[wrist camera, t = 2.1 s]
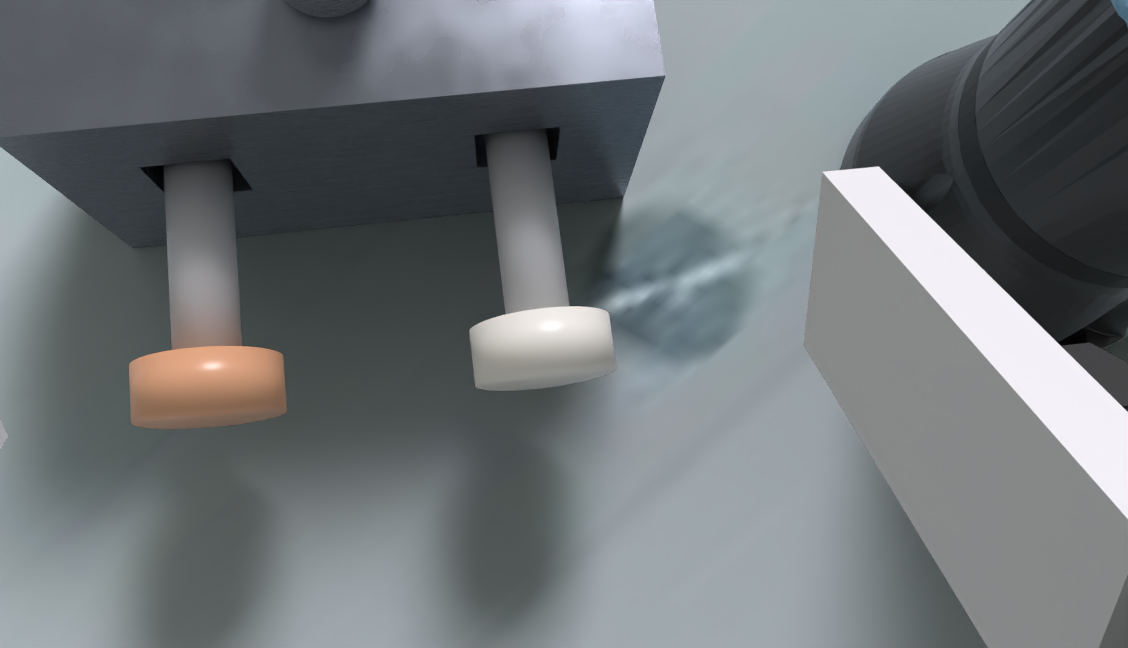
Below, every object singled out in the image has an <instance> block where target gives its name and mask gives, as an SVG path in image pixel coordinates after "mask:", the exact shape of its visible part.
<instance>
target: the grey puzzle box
mask: <svg viewBox="0 0 1128 648" xmlns="http://www.w3.org/2000/svg"><path fill="white" fill-rule="evenodd" d="M665 76H666V75H665V69H664V63H663V57H662V51H661V45H660V38H659V32H658V26H657V20H656V14H655V8H654V2H653V0H368V1H367V2H366V3H365V4H363V5H362V6H361V7H359V8H358V9H356V10H355V11H353V12H350V13H348V14H345V15H342V16H337V17H329V18H324V17H315V16H311V15H307V14H305V13H302V12H300V11H298V10H296V9H295V8H293V7H292V6H291V5H289V4H288V3H287V2H286V1H285V0H0V147H1V148H3V149H4V150H5V151H7V152H8V153H9V154H11V155H12V156H13V157H15V158H16V159H17V160H18V161H20V162H21V163H22V164H24V165H25V166H26V167H28V168H29V169H30V170H32V171H33V172H34V173H35V174H37V175H38V176H39V177H41V178H42V179H43V180H45V181H46V182H47V183H49V184H50V185H51V186H52V187H54V188H55V189H56V190H58V191H59V192H60V193H62V194H63V195H64V196H66V197H67V198H68V199H69V200H71V201H72V202H73V203H75V204H76V205H77V206H79V207H80V208H81V209H83V210H84V211H85V212H86V213H88V214H89V215H90V216H92V217H93V218H94V219H96V220H97V221H98V222H100V223H101V224H102V225H103V226H105V227H106V228H107V229H109V230H110V231H111V232H113V233H114V234H115V235H117V236H118V237H119V238H120V239H122V240H123V241H124V242H126V243H127V244H128V245H130V246H131V247H132V248H138V247H147V246H157V245H167V235H166V212H165V189H164V167H163V165H170V164H180V163H191V162H201V161H211V160H222V159H231V162H232V179H233V195H234V212H235V229H236V237H244V236H254V235H264V234H273V233H283V232H293V231H302V230H312V229H322V228H331V227H341V226H351V225H360V224H370V223H380V222H390V221H399V220H409V219H419V218H428V217H438V216H448V215H457V214H467V213H477V212H486V211H493V205H492V196H491V188H490V180H489V171H488V163H487V154H486V146H485V138H484V134H491V133H502V132H512V131H523V130H533V129H543V128H546V132H547V140H548V147H549V155H550V162H551V170H552V177H553V185H554V192H555V200H556V204H564V203H574V202H583V201H593V200H603V199H612V198H622V197H624V195H625V192H626V189H627V186H628V183H629V180H630V177H631V174H632V171H633V168H634V166H635V163H636V160H637V157H638V154H639V151H640V148H641V145H642V142H643V139H644V137H645V134H646V131H647V128H648V125H649V122H650V119H651V116H652V113H653V110H654V108H655V105H656V102H657V99H658V96H659V93H660V90H661V87H662V84H663V81H664V79H665Z"/></svg>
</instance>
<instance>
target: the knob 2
mask: <svg viewBox="0 0 1128 648" xmlns="http://www.w3.org/2000/svg"><path fill="white" fill-rule="evenodd" d="M484 138H485V146H486V154H487V163H488V171H489V180H490V188H491V196H492V205H493V213H494V222H495V230H496V238H497V247H498V255H499V264H500V272H501V280H502V289H503V297H504V306H505V315H501V316H498V317H494V318H491V319H488V320H485V321H483V322H480V323H478V324H476V325H475V326H473V327H472V328H471V329H470V331H469V334H470V343H471V352H472V362H473V371H474V380H475V386H476V387H477V388H479V389H482V390H490V391H516V390H530V389H540V388H548V387H556V386H562V385H568V384H574V383H579V382H583V381H588V380H592V379H595V378H599V377H602V376H605V375H608V374H610V373H612V372H614V371H615V370H616V368H617V367H616V360H615V353H614V346H613V339H612V331H611V324H610V317H609V313H608V312H607V311H605V310H602V309H599V308H593V307H581V306H570V305H569V297H568V290H567V282H566V275H565V267H564V260H563V252H562V245H561V237H560V230H559V222H558V215H557V207H556V200H555V192H554V185H553V177H552V170H551V162H550V155H549V147H548V140H547V132H546V128H543V129H533V130H523V131H512V132H502V133H491V134H484Z"/></svg>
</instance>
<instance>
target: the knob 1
mask: <svg viewBox="0 0 1128 648" xmlns="http://www.w3.org/2000/svg"><path fill="white" fill-rule="evenodd" d="M163 167H164V189H165V212H166V235H167V257H168V280H169V302H170V325H171V347H172V350H169V351H163V352H158V353H153V354H149V355H146V356H143V357H140V358H137V359H135V360H133V361H132V362H131V363H130V364H129V384H130V413H131V424H132V425H134V426H138V427H143V428H153V429H193V428H209V427H221V426H230V425H238V424H245V423H251V422H257V421H262V420H267V419H271V418H274V417H278V416H281V415H283V414H285V413H286V412H287V403H286V388H285V374H284V359H283V355H282V354H281V353H280V352H277V351H275V350H271V349H266V348H259V347H248V346H243V345H242V329H241V312H240V295H239V279H238V262H237V245H236V229H235V212H234V195H233V179H232V162H231V159H222V160H211V161H201V162H191V163H180V164H170V165H163Z"/></svg>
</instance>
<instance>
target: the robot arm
mask: <svg viewBox="0 0 1128 648" xmlns="http://www.w3.org/2000/svg"><path fill="white" fill-rule="evenodd" d="M1127 336H1128V0H1031V1H1030V2H1029V3H1028V4H1027V5H1026V6H1025V7H1024V8H1023V9H1022V10H1021V11H1020V12H1019V13H1018V14H1017V15H1016V16H1015V17H1014V18H1013V19H1012V20H1011V21H1010V22H1009V23H1008V24H1007V25H1006V26H1005V27H1004V28H1003V29H1002V31H1001V32H1000V33H999V34H997V35H994V36H991V37H988V38H986V39H983V40H980V41H978V42H975V43H972V44H970V45H967V46H965V47H962V48H960V49H957V50H954V51H951V52H949V53H946V54H943V55H941V56H938V57H936V58H934V59H931V60H930V61H928V62H926V63H924V64H922V65H921V66H919V67H917V68H916V69H914V70H913V71H911V72H910V73H908V74H907V75H906V76H904V77H903V78H902V79H901V80H899V81H898V82H897V83H896V84H895V85H894V86H893V87H891V89H890V90H889V91H888V92H887V93H886V94H885V95H884V96H883V97H882V98H881V99H880V101H879V102H878V103H877V104H876V105H875V106H874V108H873V109H872V110H871V111H870V112H869V113H868V115H867V116H866V117H865V118H864V120H863V121H862V123H861V124H860V125H859V127H858V128H857V130H856V132H855V134H854V135H853V137H852V139H851V141H850V143H849V146H848V148H847V150H846V153H845V156H844V159H843V162H842V166H841V170H838V171H828V172H822V181H821V190H820V199H819V209H818V218H817V227H816V236H815V245H814V255H813V264H812V273H811V282H810V292H809V301H808V310H807V319H806V328H805V338H804V347H805V348H806V350H807V352H808V353H809V355H810V357H811V358H812V360H813V362H814V363H815V365H816V366H817V368H818V370H819V371H820V373H821V375H822V376H823V378H824V380H825V381H826V383H827V385H828V386H829V388H830V389H831V391H832V393H833V394H834V396H835V398H836V399H837V401H838V403H839V404H840V406H841V408H842V409H843V411H844V412H845V414H846V416H847V417H848V419H849V421H850V422H851V424H852V426H853V427H854V429H855V430H856V432H857V434H858V435H859V437H860V439H861V440H862V442H863V444H864V445H865V447H866V449H867V450H868V452H869V453H870V455H871V457H872V458H873V460H874V462H875V463H876V465H877V467H878V468H879V470H880V472H881V473H882V475H883V476H884V478H885V480H886V481H887V483H888V485H889V486H890V488H891V490H892V491H893V493H894V495H895V496H896V498H897V499H898V501H899V503H900V504H901V506H902V508H903V509H904V511H905V513H906V514H907V516H908V517H909V519H910V521H911V522H912V524H913V526H914V527H915V529H916V531H917V532H918V534H919V536H920V537H921V539H922V540H923V542H924V544H925V545H926V547H927V549H928V550H929V552H930V554H931V555H932V557H933V559H934V560H935V562H936V563H937V565H938V567H939V568H940V570H941V572H942V573H943V575H944V577H945V578H946V580H947V581H948V583H949V585H950V586H951V588H952V590H953V591H954V593H955V595H956V596H957V598H958V600H959V601H960V603H961V604H962V606H963V608H964V609H965V611H966V613H967V614H968V616H969V618H970V619H971V621H972V623H973V624H974V626H975V627H976V629H977V631H978V632H979V634H980V636H981V637H982V639H983V641H984V642H985V644H986V645H987V647H988V648H1128V362H1126V361H1124V360H1122V359H1120V358H1118V357H1116V356H1114V355H1113V354H1111V353H1109V352H1107V351H1105V349H1107V348H1109V347H1111V346H1113V345H1114V344H1116V343H1118V342H1119V341H1121V340H1123V339H1124V338H1125V337H1127ZM7 437H8V435H7V433H6V431H5V429H4V427H3V424H2V422H1V420H0V449H1V447H2V446H3V444H4V442H5V440H6V438H7Z"/></svg>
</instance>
